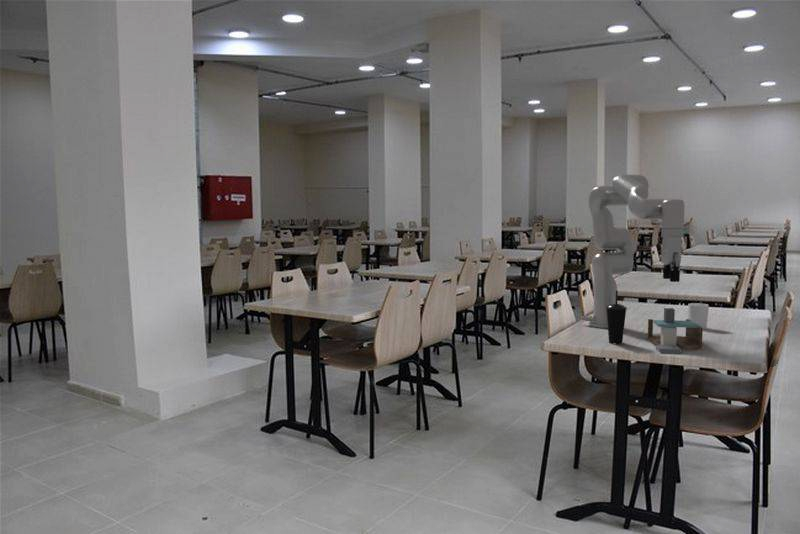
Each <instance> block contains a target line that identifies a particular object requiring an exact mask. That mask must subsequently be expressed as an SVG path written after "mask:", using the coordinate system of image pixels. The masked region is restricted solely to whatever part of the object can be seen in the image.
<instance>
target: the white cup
mask: <svg viewBox="0 0 800 534" xmlns="http://www.w3.org/2000/svg"><path fill="white" fill-rule="evenodd" d="M687 306H688V308H687V309H688V311H687V313H688V315H687V316H688V319H689V320H691V321H693V322H695V323H696V324H698V325H699V326H701V327H702V328H703V330H706V329H707V325H708V318H709V317H708V316H709V304H708V303H707V304H706V303H699V302H697V303H696V302H691V303H688V304H687Z"/></svg>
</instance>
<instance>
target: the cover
mask: <svg viewBox="0 0 800 534" xmlns="http://www.w3.org/2000/svg"><path fill="white" fill-rule="evenodd" d="M675 311H676V310H675V309H674V308H673V307H671V308H670V307H664V308H663V319H661V320H660V319H654V320H653V324H655V325H656V326H657V327H658V328H661V327H676V328H686V327H691V328H699V325H698V324H696V323H695V322H693V321H686V320H676V319H675V316H676V315H675V314H676V313H675Z"/></svg>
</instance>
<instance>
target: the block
mask: <svg viewBox="0 0 800 534" xmlns="http://www.w3.org/2000/svg"><path fill="white" fill-rule="evenodd" d="M677 332H678V327H660V336H661V341H660V345H676V338H677V334H678V333H677Z"/></svg>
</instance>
